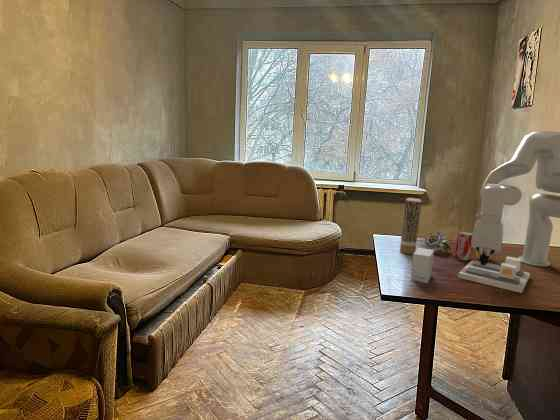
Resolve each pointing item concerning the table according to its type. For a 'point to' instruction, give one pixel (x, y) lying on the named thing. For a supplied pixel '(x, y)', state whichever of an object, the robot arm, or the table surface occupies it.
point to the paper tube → (410, 225)
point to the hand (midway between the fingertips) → (483, 264)
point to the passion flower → (436, 242)
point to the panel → (493, 276)
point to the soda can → (464, 246)
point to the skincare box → (422, 265)
